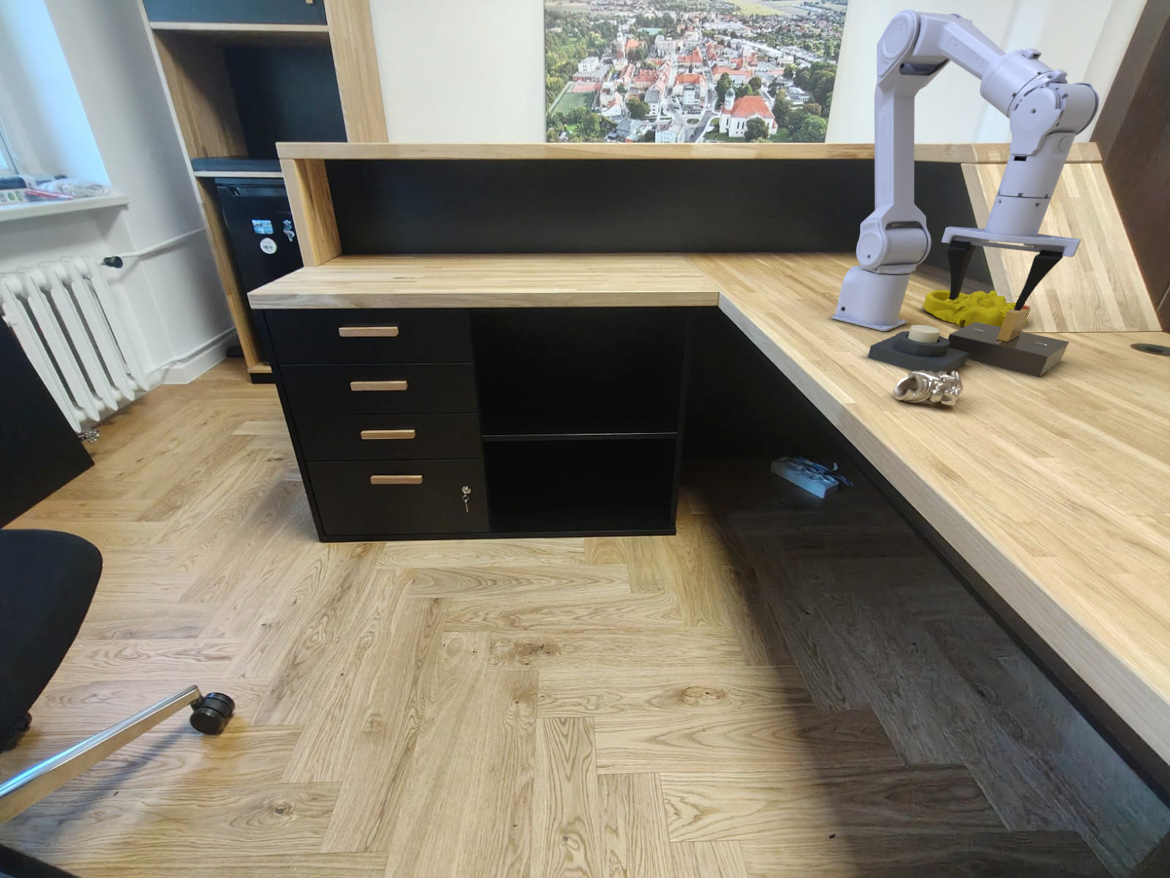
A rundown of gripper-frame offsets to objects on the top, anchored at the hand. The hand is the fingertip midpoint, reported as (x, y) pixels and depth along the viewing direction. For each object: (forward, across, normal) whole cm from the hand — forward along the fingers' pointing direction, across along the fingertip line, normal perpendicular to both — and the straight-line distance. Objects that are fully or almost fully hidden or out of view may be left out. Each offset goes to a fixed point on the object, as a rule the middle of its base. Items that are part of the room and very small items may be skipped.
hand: (984, 303), depth 76 cm
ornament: (+8, 0, +20) cm, 22 cm away
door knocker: (+8, +5, -27) cm, 29 cm away
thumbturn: (+5, -4, -5) cm, 8 cm away
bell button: (+5, +5, +6) cm, 9 cm away
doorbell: (+8, +5, +6) cm, 11 cm away
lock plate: (+8, -4, -5) cm, 10 cm away
